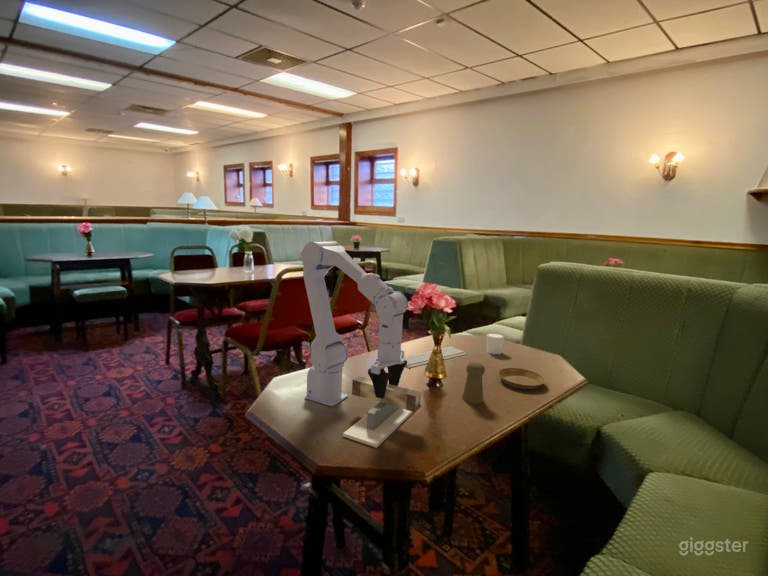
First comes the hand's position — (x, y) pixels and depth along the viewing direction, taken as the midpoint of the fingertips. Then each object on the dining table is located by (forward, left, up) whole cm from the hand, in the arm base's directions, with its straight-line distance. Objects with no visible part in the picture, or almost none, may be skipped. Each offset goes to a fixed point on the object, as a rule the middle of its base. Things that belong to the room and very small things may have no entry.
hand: (386, 392), depth 106 cm
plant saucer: (+26, +47, -8) cm, 54 cm away
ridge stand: (0, 0, -7) cm, 7 cm away
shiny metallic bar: (0, 0, -2) cm, 2 cm away
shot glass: (+11, +74, -8) cm, 75 cm away
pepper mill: (+16, +25, -8) cm, 31 cm away
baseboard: (-7, +52, -8) cm, 53 cm away
